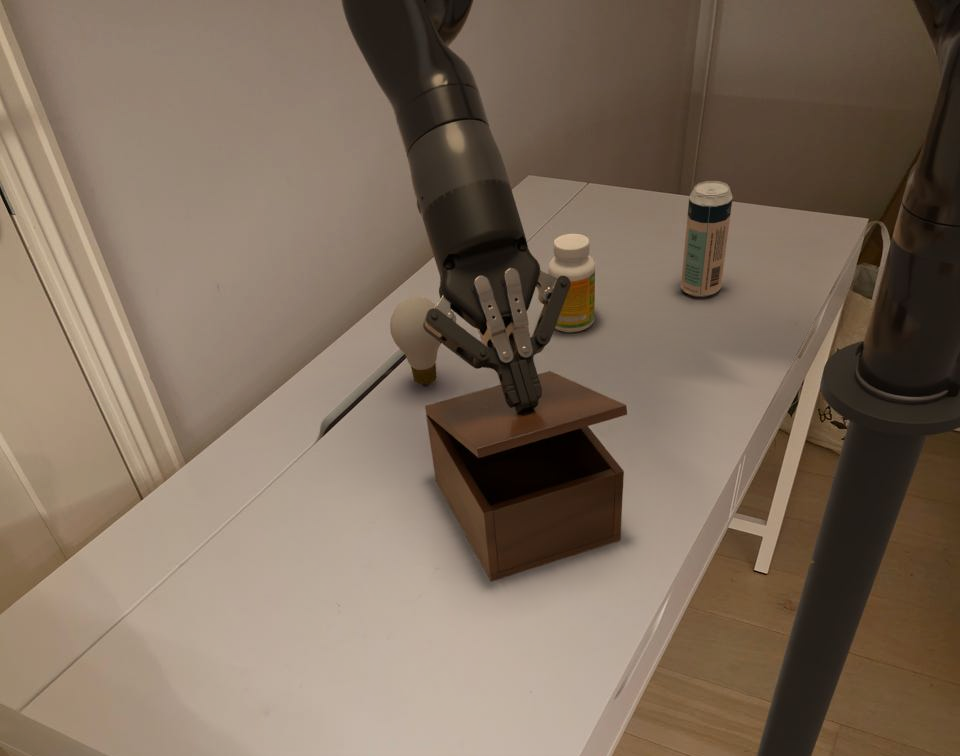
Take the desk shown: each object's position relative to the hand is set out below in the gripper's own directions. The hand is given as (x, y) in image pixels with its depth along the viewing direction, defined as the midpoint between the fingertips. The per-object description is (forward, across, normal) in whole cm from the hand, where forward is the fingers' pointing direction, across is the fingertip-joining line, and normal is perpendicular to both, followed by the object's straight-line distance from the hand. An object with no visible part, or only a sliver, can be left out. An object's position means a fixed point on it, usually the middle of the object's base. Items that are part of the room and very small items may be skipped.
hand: (528, 408), depth 72 cm
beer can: (-13, +35, +31) cm, 49 cm away
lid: (0, 0, +3) cm, 3 cm away
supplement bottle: (-13, +18, +32) cm, 39 cm away
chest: (+7, 0, +11) cm, 13 cm away
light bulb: (-10, -2, +28) cm, 30 cm away
